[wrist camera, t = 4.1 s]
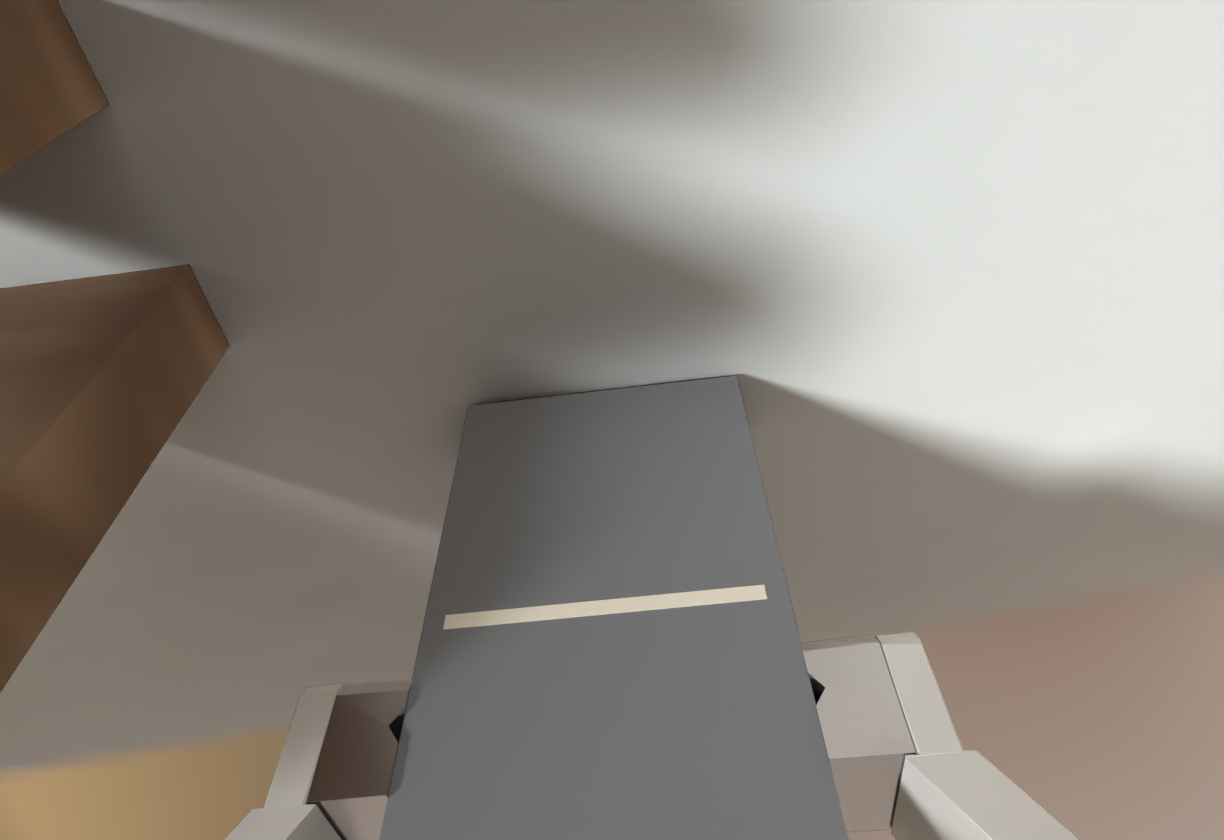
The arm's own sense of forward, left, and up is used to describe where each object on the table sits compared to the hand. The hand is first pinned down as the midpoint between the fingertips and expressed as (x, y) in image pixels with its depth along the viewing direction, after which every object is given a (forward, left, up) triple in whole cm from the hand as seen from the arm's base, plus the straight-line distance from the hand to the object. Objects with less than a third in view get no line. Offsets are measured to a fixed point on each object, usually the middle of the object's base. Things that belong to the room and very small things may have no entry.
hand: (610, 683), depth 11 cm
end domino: (0, 0, -6) cm, 6 cm away
